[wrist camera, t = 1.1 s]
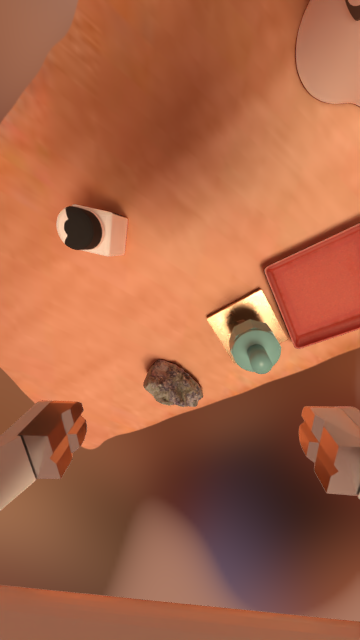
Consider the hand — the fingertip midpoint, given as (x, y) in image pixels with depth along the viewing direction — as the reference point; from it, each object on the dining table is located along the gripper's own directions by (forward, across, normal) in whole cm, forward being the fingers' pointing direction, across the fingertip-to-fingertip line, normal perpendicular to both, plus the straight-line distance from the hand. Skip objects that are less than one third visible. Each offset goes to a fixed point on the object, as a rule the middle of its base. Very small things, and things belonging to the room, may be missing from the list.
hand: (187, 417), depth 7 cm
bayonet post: (+35, -11, +9) cm, 38 cm away
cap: (+29, -10, +9) cm, 32 cm away
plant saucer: (+35, -25, +1) cm, 43 cm away
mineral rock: (+38, +5, +23) cm, 44 cm away
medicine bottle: (+37, +17, -10) cm, 42 cm away
